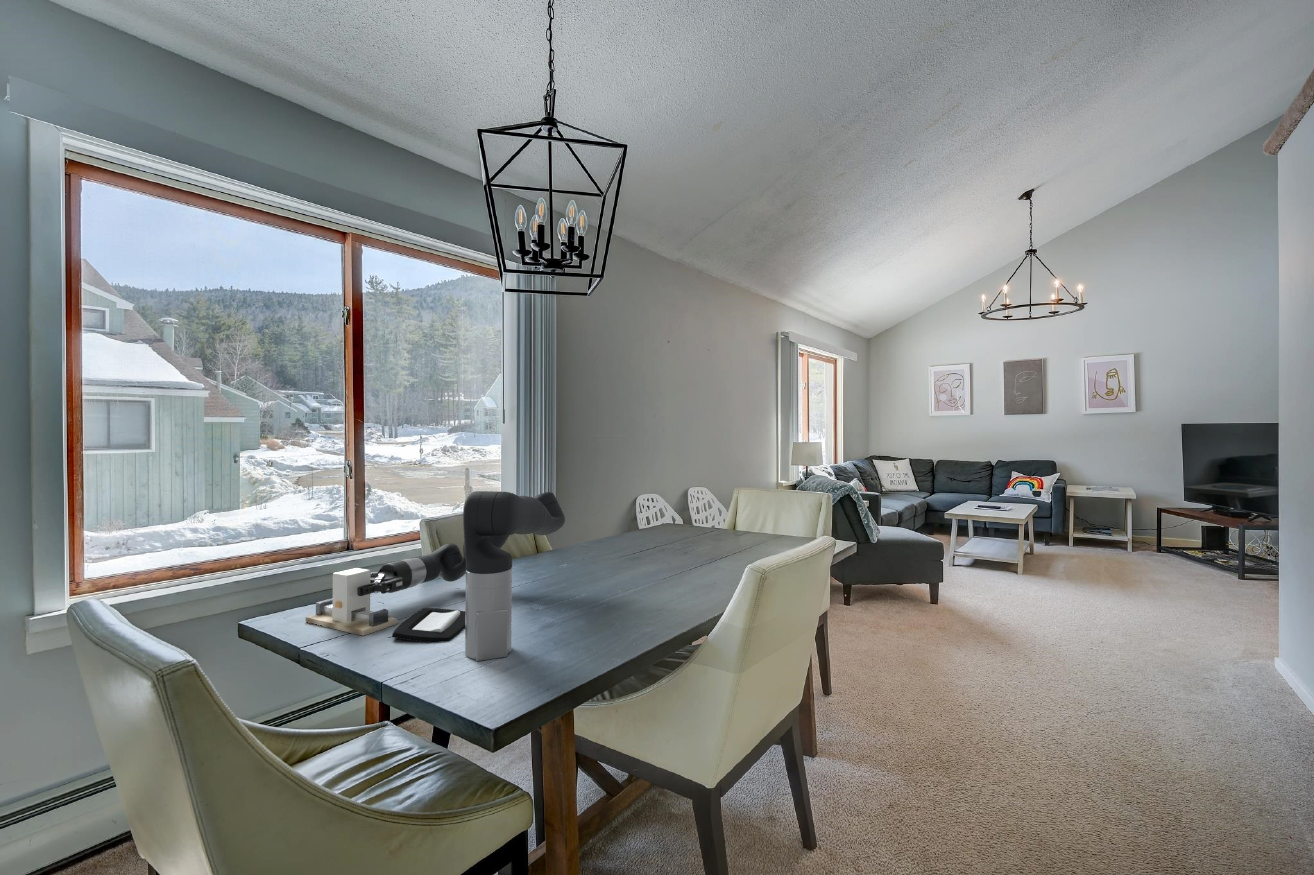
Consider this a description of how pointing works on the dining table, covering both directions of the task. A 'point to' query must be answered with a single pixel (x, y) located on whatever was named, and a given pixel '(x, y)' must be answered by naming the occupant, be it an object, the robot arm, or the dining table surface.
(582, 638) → the dining table surface
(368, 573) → the block
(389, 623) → the mounting board
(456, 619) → the light switch
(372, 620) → the rail
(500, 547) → the robot arm
